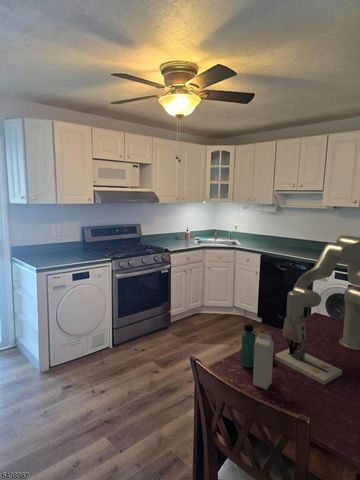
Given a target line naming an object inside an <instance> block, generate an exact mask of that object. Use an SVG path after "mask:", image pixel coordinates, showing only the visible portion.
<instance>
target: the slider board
mask: <svg viewBox="0 0 360 480" xmlns="http://www.w3.org/2000/svg"><path fill="white" fill-rule="evenodd" d="M274 354H275V355H274V356H275V357H274V356H273V357H274V358H273V360H275V361H278V362H279V363H282V364H283V365H284V366H287V367H289V368H291V369H292V370H295V371H296V372H299V373H300V374H303V375H304V376H306V377H308V378H310V379H312V380H314V381H315V382H318V383H320V384H321V385H324V386H325V385H327V384H329V383H330V382H331V381H333V380H335V379H336V378H338V377H340V376H342V375H343V370H342V369H340V368H338V367H336V366H334V365H332V364H330V363H327V362H325V361H322V360H321V359H319V358H316V357H315V356H312V355H310V354H308V353H306V352H305V358H303V359H301V360H298V359H296V358H294V354H293V355H292V354H290V353H289V348H287V349H285V350H281V351H280V352H277V353H274Z"/></svg>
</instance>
